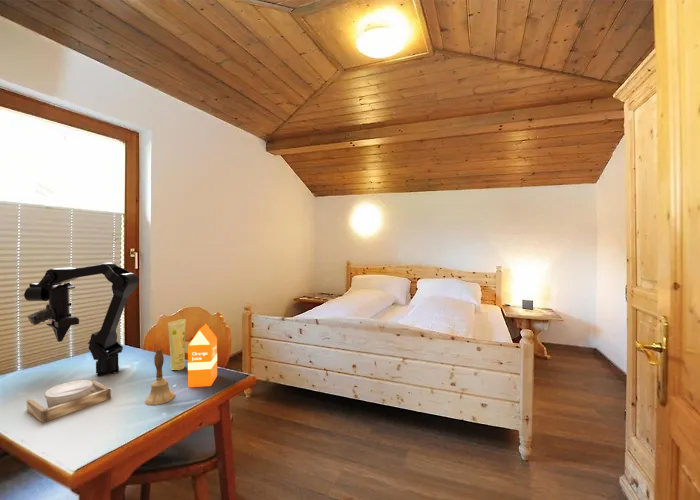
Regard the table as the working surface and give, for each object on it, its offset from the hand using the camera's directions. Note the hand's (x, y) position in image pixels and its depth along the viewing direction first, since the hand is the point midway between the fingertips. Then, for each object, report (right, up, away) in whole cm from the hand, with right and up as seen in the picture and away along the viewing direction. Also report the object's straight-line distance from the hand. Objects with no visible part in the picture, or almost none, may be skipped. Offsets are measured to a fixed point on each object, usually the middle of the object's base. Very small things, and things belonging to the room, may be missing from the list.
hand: (59, 341), depth 122 cm
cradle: (+24, -13, -23) cm, 36 cm away
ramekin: (+25, -13, -23) cm, 36 cm away
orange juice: (+58, -13, -7) cm, 60 cm away
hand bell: (+50, -13, -20) cm, 56 cm away
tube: (+43, -12, +4) cm, 45 cm away
